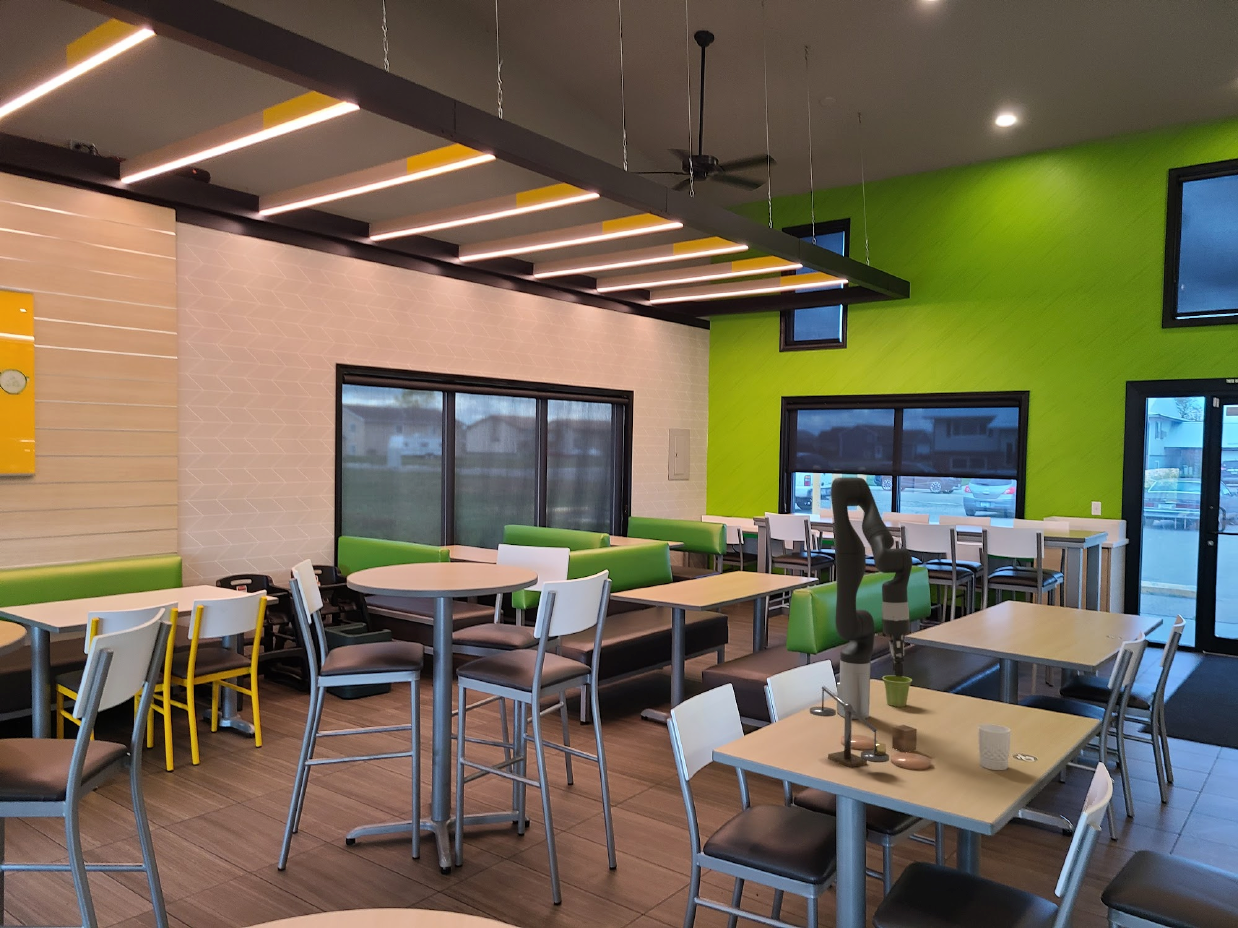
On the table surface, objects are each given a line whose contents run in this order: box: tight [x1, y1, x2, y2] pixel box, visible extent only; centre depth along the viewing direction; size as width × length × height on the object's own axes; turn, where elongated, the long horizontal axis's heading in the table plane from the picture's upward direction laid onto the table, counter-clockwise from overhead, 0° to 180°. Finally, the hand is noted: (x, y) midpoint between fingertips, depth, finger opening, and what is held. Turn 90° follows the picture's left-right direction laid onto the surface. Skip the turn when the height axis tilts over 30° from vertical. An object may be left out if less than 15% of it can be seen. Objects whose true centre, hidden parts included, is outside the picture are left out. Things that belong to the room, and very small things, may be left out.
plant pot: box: [881, 674, 913, 708], centre depth 291 cm, size 9×9×9 cm
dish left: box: [840, 734, 879, 751], centre depth 247 cm, size 10×10×1 cm
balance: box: [809, 685, 890, 768], centre depth 232 cm, size 26×7×18 cm, turn 31°
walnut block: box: [891, 724, 918, 753], centre depth 243 cm, size 4×4×6 cm
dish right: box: [890, 752, 932, 771], centre depth 231 cm, size 10×10×1 cm
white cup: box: [977, 723, 1012, 771], centre depth 230 cm, size 8×8×10 cm
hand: (897, 673), depth 254 cm, fingers open, 8 cm apart
